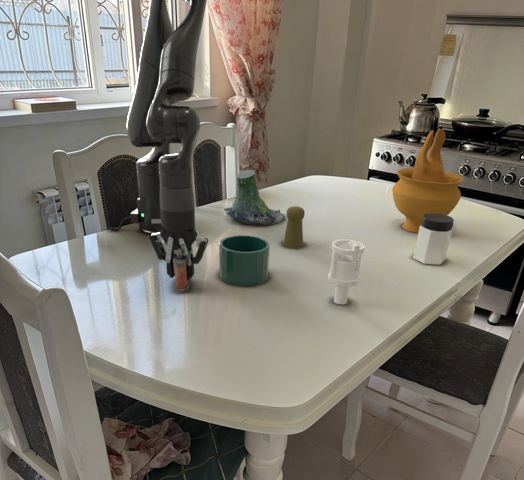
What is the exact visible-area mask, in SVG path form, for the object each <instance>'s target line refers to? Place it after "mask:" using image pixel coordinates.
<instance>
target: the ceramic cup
mask: <svg viewBox="0 0 524 480" xmlns="http://www.w3.org/2000/svg"><path fill="white" fill-rule="evenodd" d="M218 244H219V245H218V246H219V247H218V248H219V249H218V250H219V278H220V279H221V280H222V281H223V282H225V283H227V284H230V285H232V286H233V285H234V286H240V287H247V286H248V287H249V286H256V285H260V284H263V283H265V282H266V281H267V280H268V277H269V267H270V266H269V263H270V242H269V241H268V240H267V239H264V238H263V237H259V236H255V235H247V234H237V235H231V236H227V237H224V238H222V239H221V240H219V243H218Z"/></svg>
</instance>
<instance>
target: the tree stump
mask: <svg viewBox="0 0 524 480" xmlns="http://www.w3.org/2000/svg"><path fill="white" fill-rule="evenodd" d="M256 176H257V175H256V170H254V169H245V170H242V171H240V172H238V173H237V174H236V195H235V199H234V201H233V203H232V206H229V207H226V208H225V207H224V208H223V210H224V214H226V215H227V216H229V217H230V218H231V219H234V220H236V221H238V222H240V223H242V224H243V225H254V226H270V225H276V224H279V223H280V222H282V221H283V220H284V216H283V213H281V210H280V209H276V210H275V209H271V208H270V207H268V206H267V204H266V202H265V201H264V200H263V199H262V198H261V197H260V192H259V189H258V184H257V177H256Z"/></svg>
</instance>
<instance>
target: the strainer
mask: <svg viewBox="0 0 524 480" xmlns="http://www.w3.org/2000/svg"><path fill="white" fill-rule="evenodd" d="M346 245H347V246H351V249H345V248H341V247H339V246H346ZM331 251H332V253H331V260H330V269H329V272H328V273H327V281H328V282H329V283H331V284H333V285H335V290H334V296H333V297H334V298H333V302H334V304H337V305H346V304H348V297H349V291H350V287H353V286H354V287H355V286H357V285H358V284H359V283H360V279H361V276H360V274H359V272H360V266H361V260H362V254H364V252H365V244H363V242H360V241H358V240H355V239H348V238H343V239H342V238H341V239H336V240H335V239H334V240H333V241H332V242H331Z"/></svg>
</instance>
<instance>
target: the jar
mask: <svg viewBox="0 0 524 480" xmlns="http://www.w3.org/2000/svg"><path fill="white" fill-rule="evenodd" d="M454 221H455V219H454V218H453V217H452V216H450V215H443V214H436V213H429V214H425V215H424V216H423V220H422V224H421V226H420V228H419V233H417V238H416V243H415V246H414V252H413V255H412V256H413V257H412V258H413V259H414V260H416V261H418V262H420V263H421V264H424V265H437V266H440V265H441V264H442V263H444V261H446V258H447V254H448V250H449V246H450V242H451V239H452V234H453V230H454V223H455V222H454Z"/></svg>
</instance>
